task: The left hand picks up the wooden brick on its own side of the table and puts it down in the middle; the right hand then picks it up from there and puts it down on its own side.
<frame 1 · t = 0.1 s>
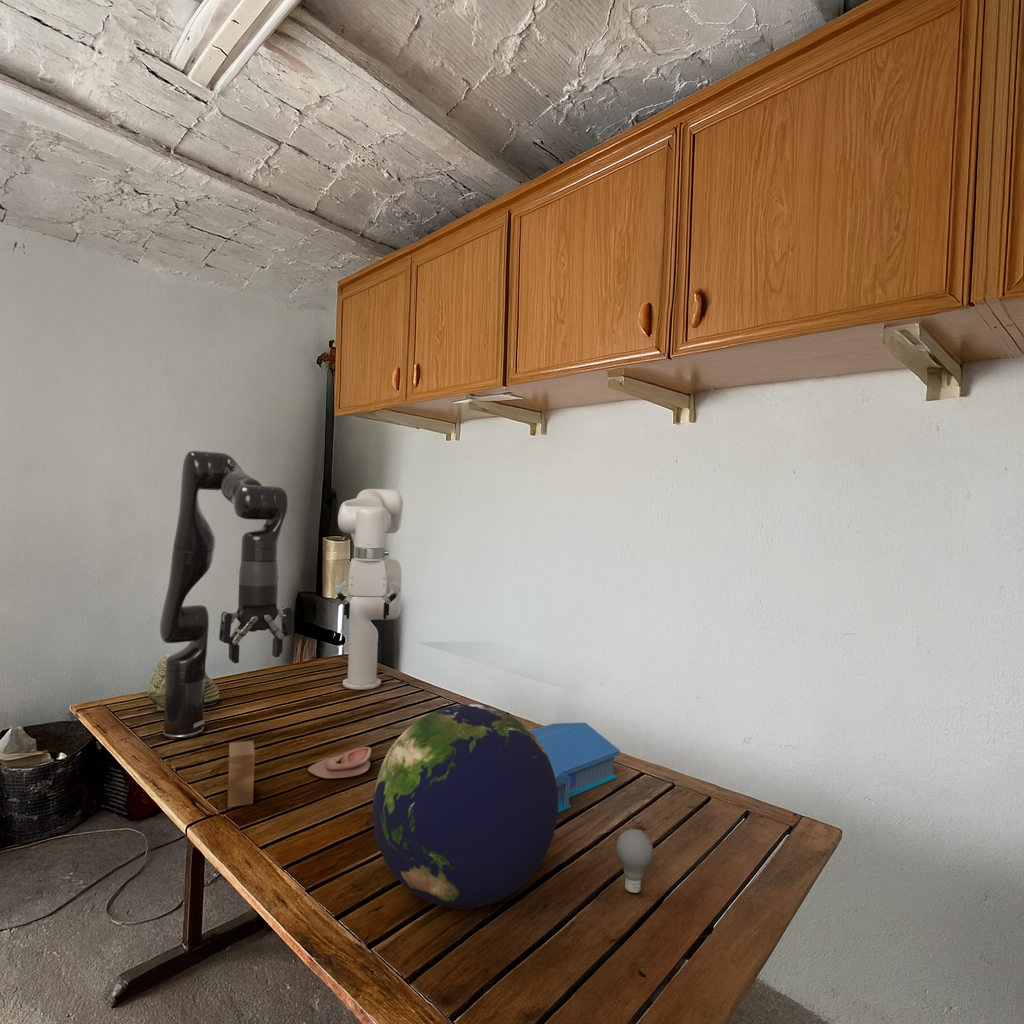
left hand: (255, 659, 132), 29 cm above the table, tool pointing down, fingers open, 8 cm apart
right hand: (366, 618, 169), 31 cm above the table, tool pointing down, fingers open, 9 cm apart
fossil: (183, 706, 185), on the table
anatomical model: (339, 769, 147), on the table
model building: (530, 787, 143), on the table
light bulb: (632, 891, 106), on the table
brick: (240, 797, 132), on the table
globe: (462, 892, 103), on the table
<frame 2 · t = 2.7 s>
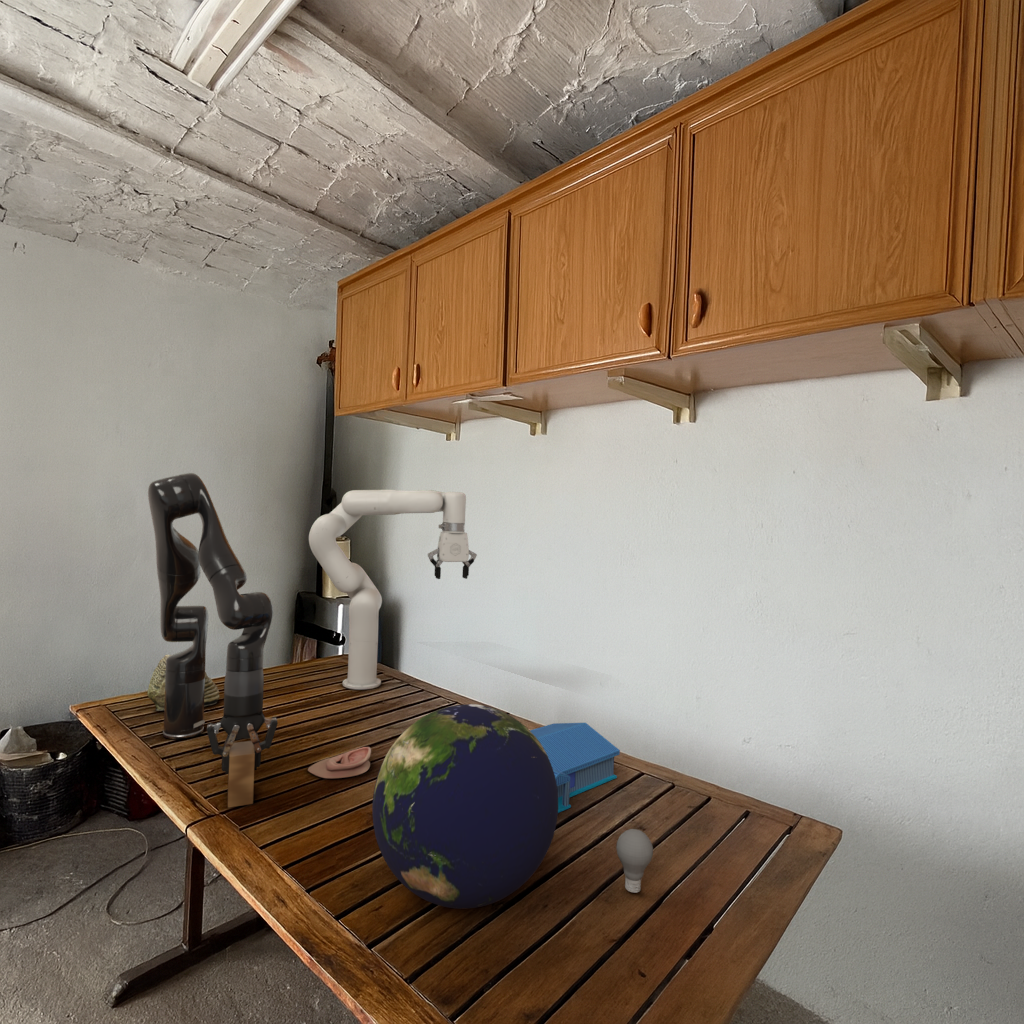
left hand: (241, 770, 132), 6 cm above the table, tool pointing down, fingers closed on brick, 4 cm apart
right hand: (451, 578, 216), 37 cm above the table, tool pointing down, fingers open, 9 cm apart
brick: (240, 797, 132), on the table, touching left hand
everything else where it was.
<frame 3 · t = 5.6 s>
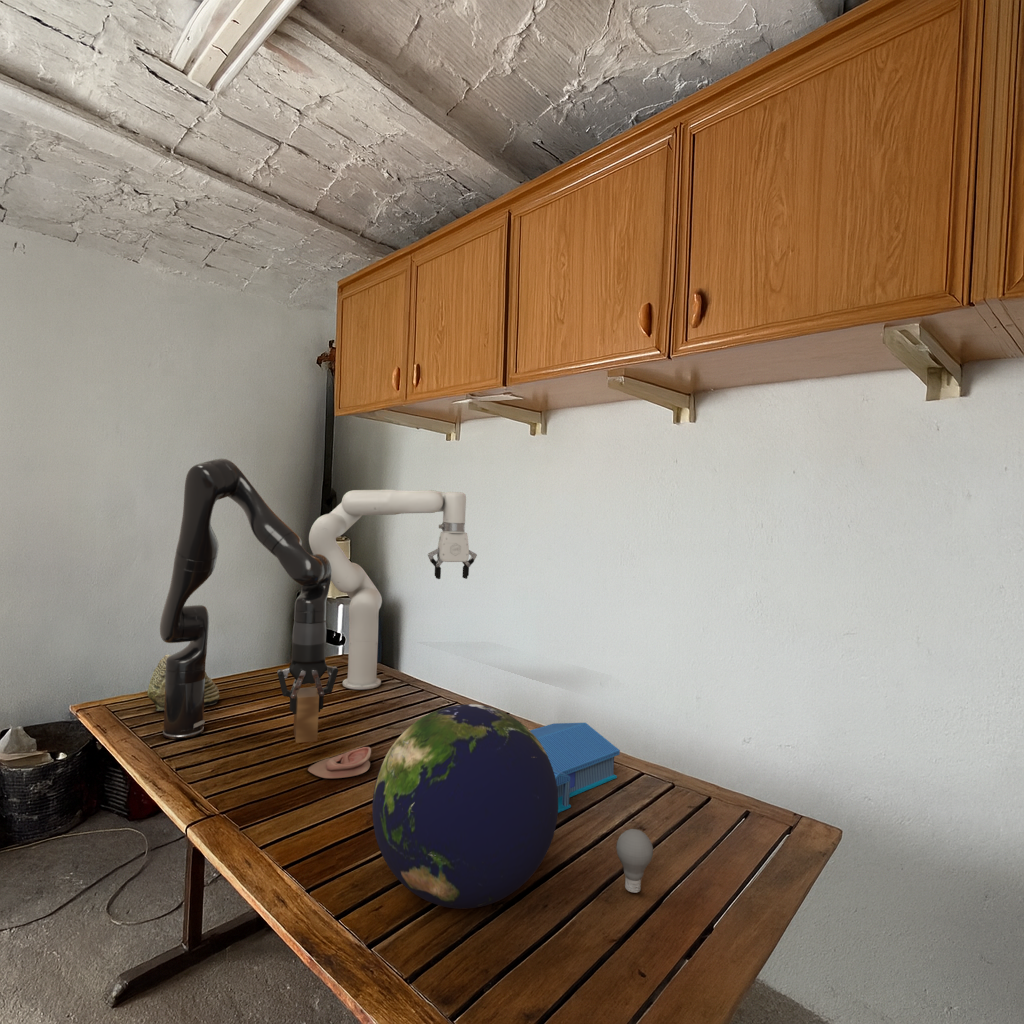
left hand: (306, 711, 149), 13 cm above the table, tool pointing down, fingers closed on brick, 4 cm apart
right hand: (451, 578, 216), 37 cm above the table, tool pointing down, fingers open, 9 cm apart
brick: (305, 736, 149), point 7 cm above the table, touching left hand
everything else where it was.
when the left hand's fingers open (7 cm above the table, at t = 8.8 s): brick drops 1 cm, on the table.
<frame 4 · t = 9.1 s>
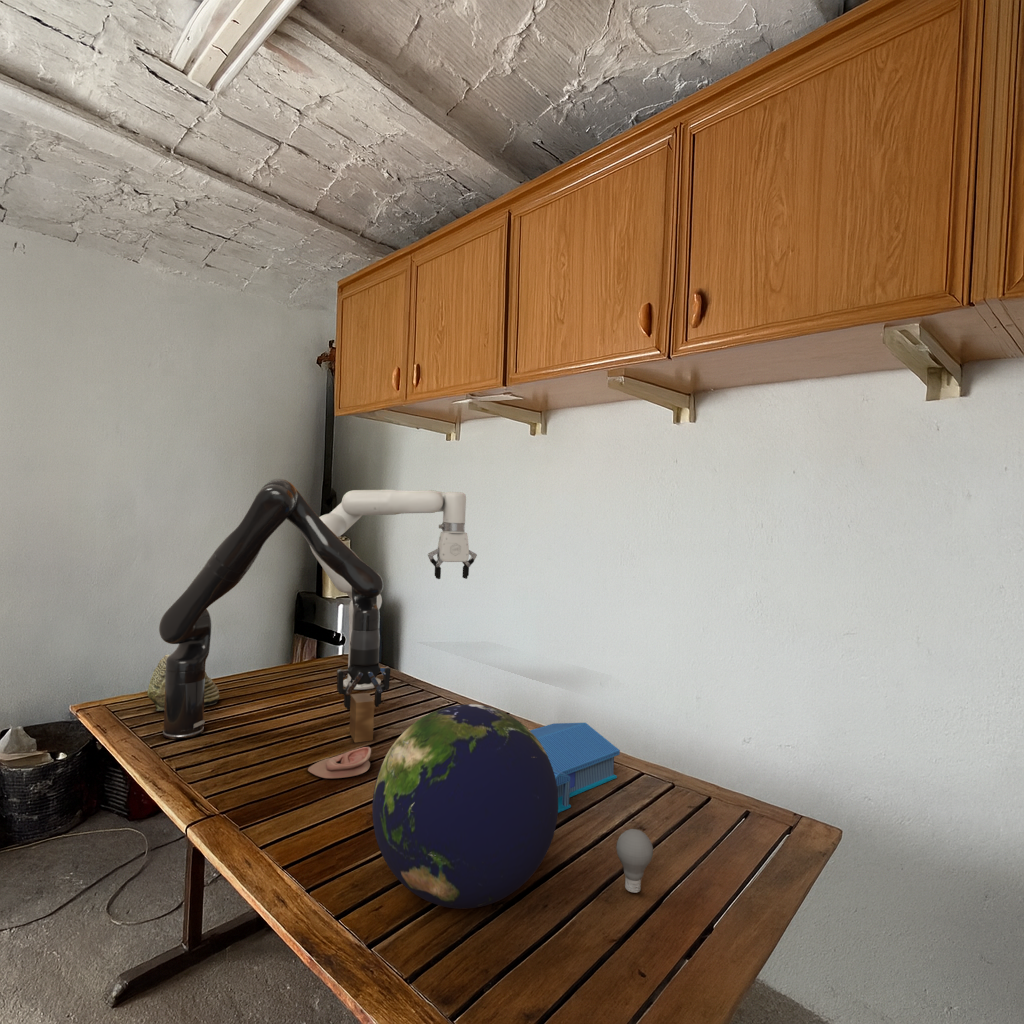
left hand: (362, 707, 168), 8 cm above the table, tool pointing down, fingers open, 7 cm apart
right hand: (451, 578, 216), 37 cm above the table, tool pointing down, fingers open, 9 cm apart
brick: (360, 736, 168), on the table
everything else where it was.
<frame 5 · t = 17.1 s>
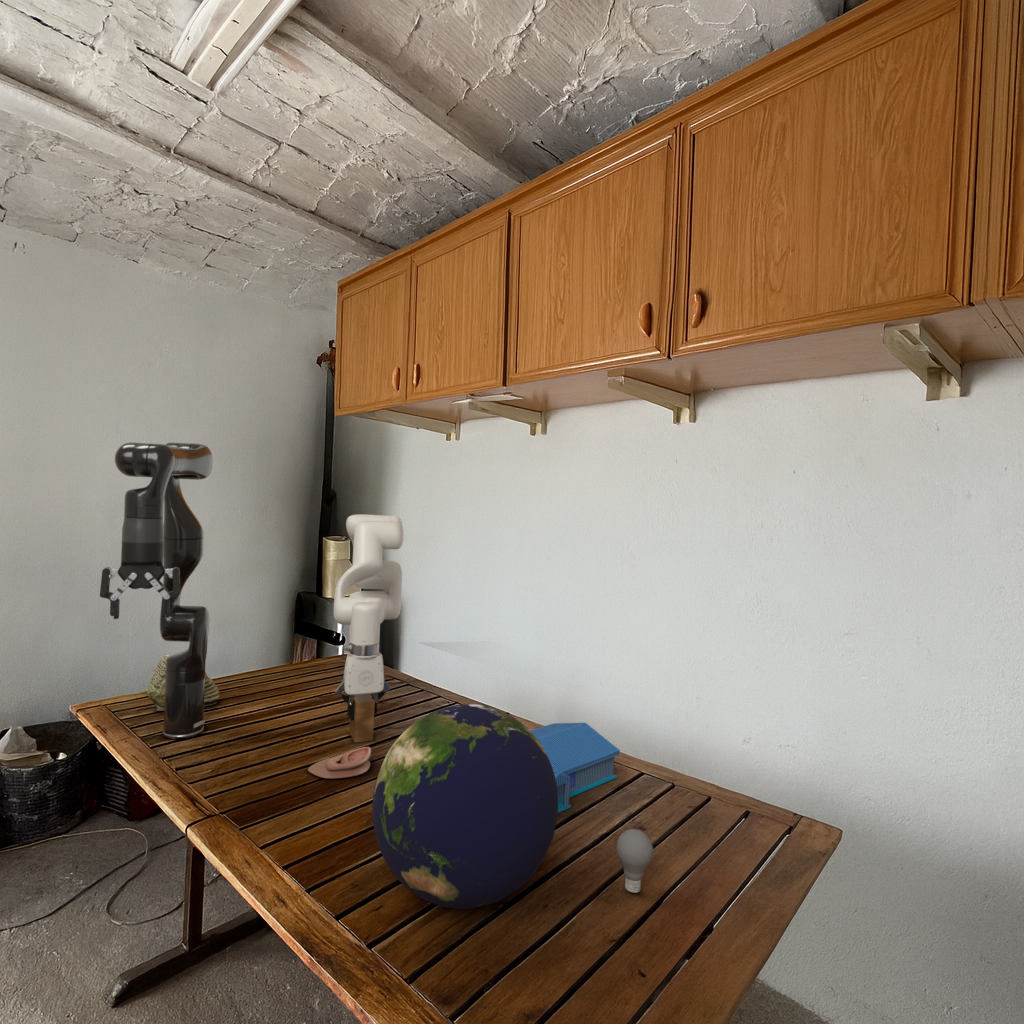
left hand: (140, 617, 131), 37 cm above the table, tool pointing down, fingers open, 8 cm apart
right hand: (361, 716, 168), 5 cm above the table, tool pointing down, fingers closed on brick, 4 cm apart
brick: (360, 736, 168), on the table, touching right hand
everything else where it was.
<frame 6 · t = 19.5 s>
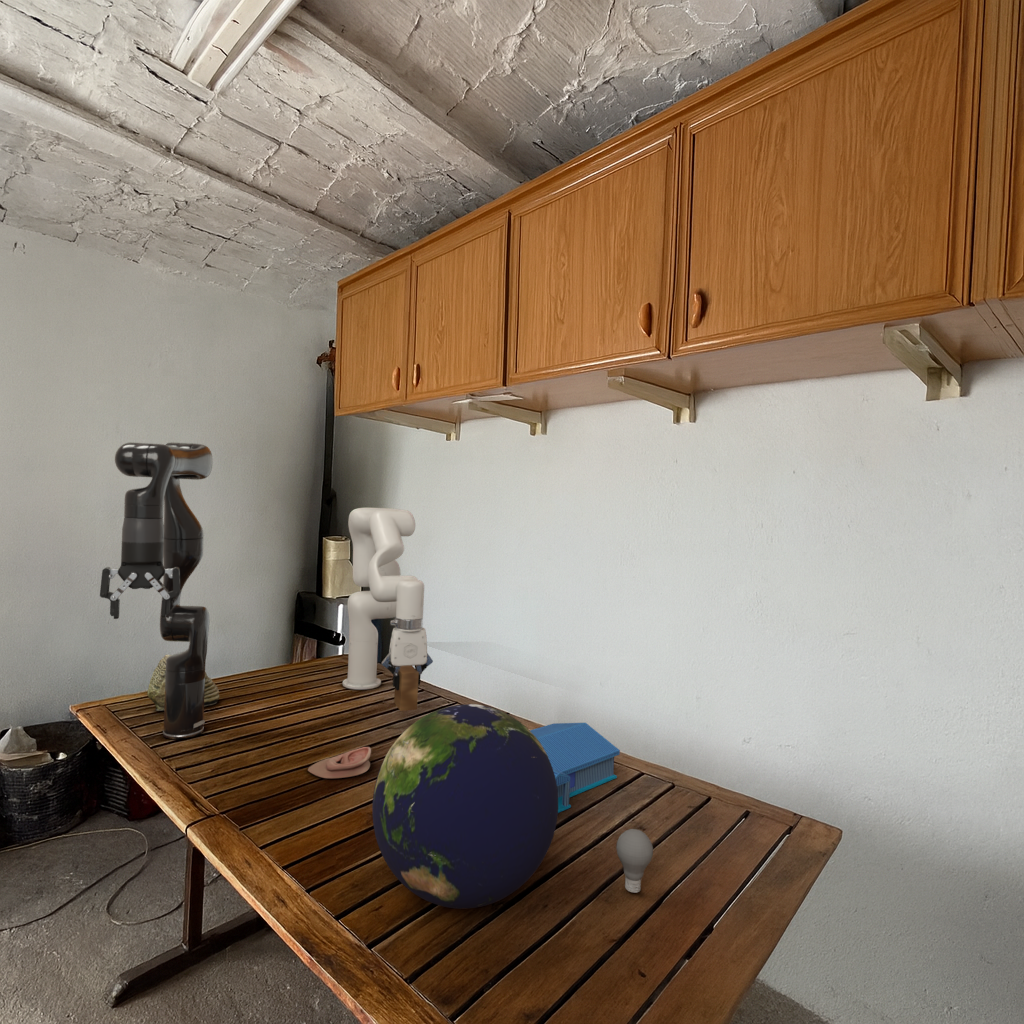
left hand: (140, 617, 131), 37 cm above the table, tool pointing down, fingers open, 8 cm apart
right hand: (406, 687, 178), 10 cm above the table, tool pointing down, fingers closed on brick, 4 cm apart
brick: (405, 706, 178), point 5 cm above the table, touching right hand
everything else where it was.
when the right hand's fingers open (7 cm above the table, at t = 21.8 s): brick drops 1 cm, on the table.
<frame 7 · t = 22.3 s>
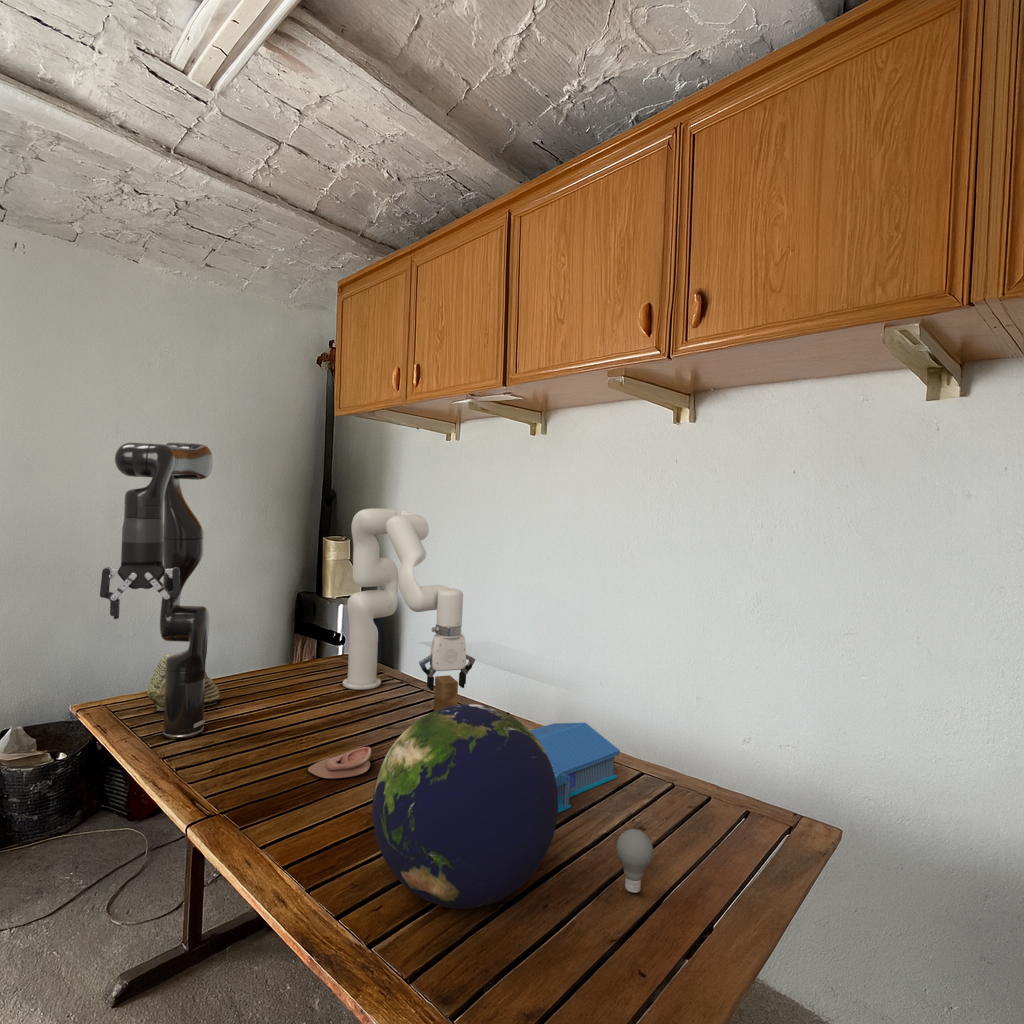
left hand: (140, 617, 131), 37 cm above the table, tool pointing down, fingers open, 8 cm apart
right hand: (446, 688, 188), 8 cm above the table, tool pointing down, fingers open, 9 cm apart
brick: (445, 713, 188), on the table
everything else where it was.
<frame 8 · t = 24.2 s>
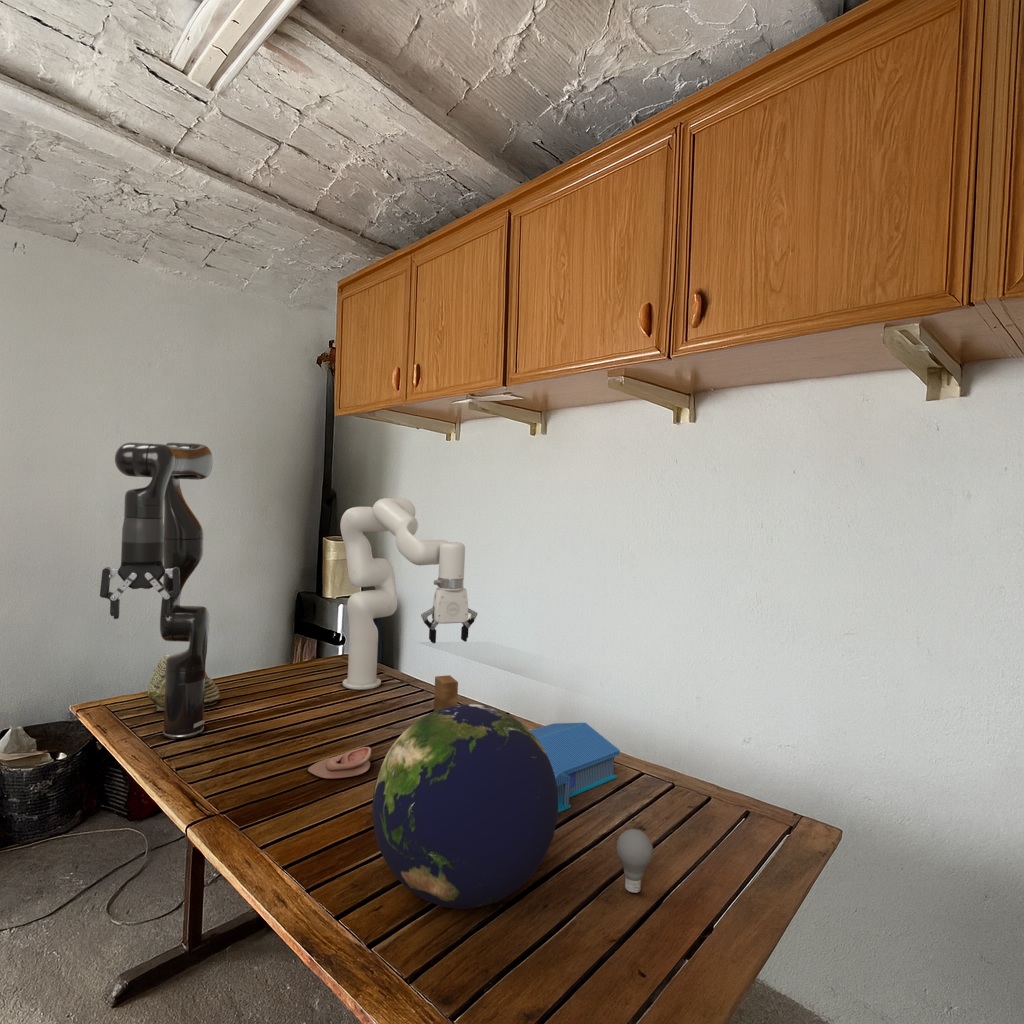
left hand: (140, 617, 131), 37 cm above the table, tool pointing down, fingers open, 8 cm apart
right hand: (448, 641, 188), 22 cm above the table, tool pointing down, fingers open, 9 cm apart
nothing on the table moved.
at the end: brick inside the target area (0.2 cm from its centre), on the table; brick tilted 0°; the two hands never held the brick at the same time; the left hand is holding nothing; the right hand is holding nothing; brick at rest at the end (0.0 cm/s) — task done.
